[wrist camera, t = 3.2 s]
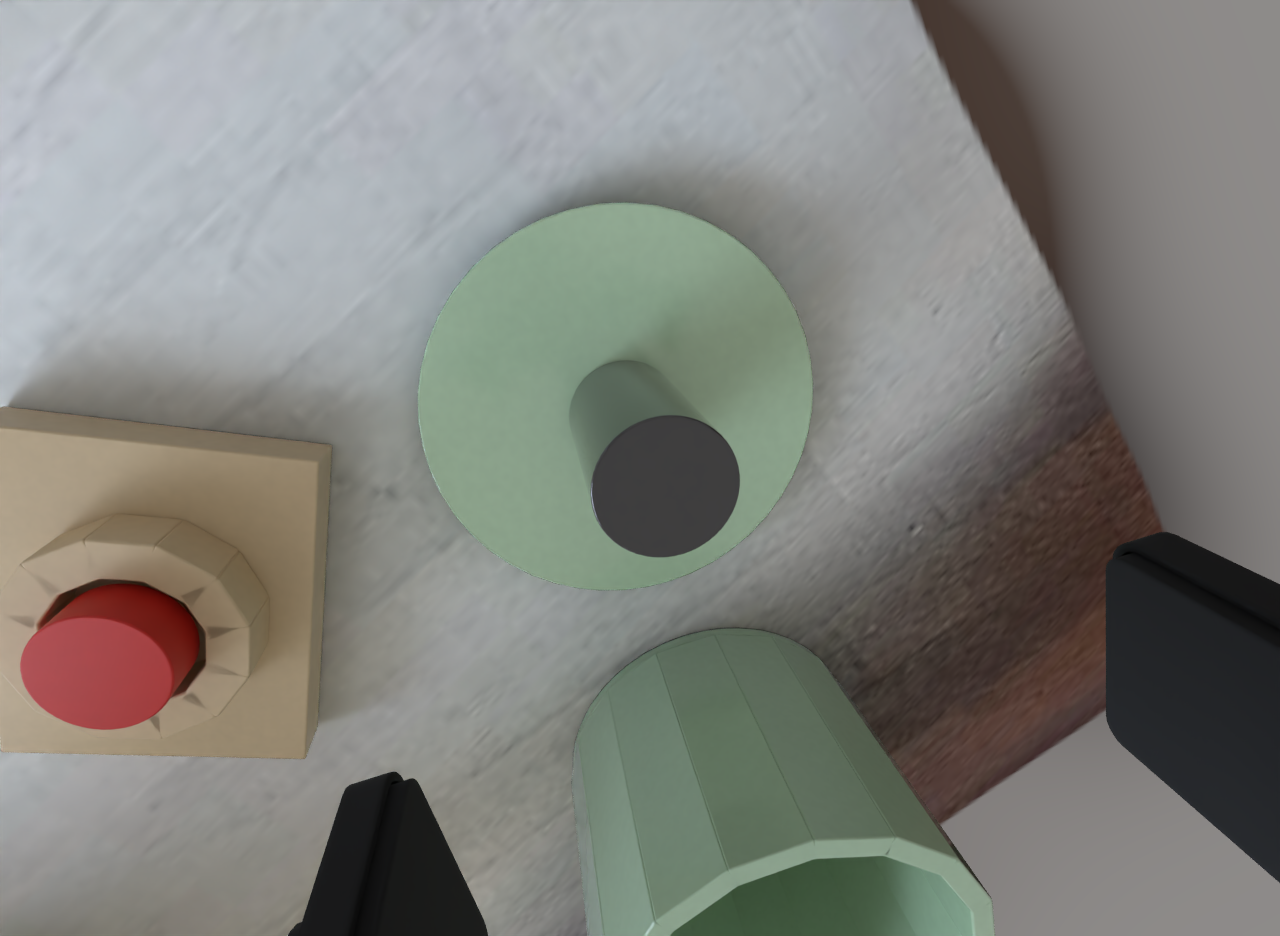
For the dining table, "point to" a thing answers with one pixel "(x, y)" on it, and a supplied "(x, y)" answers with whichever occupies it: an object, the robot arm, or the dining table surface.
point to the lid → (615, 396)
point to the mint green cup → (754, 805)
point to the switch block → (170, 573)
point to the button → (110, 657)
